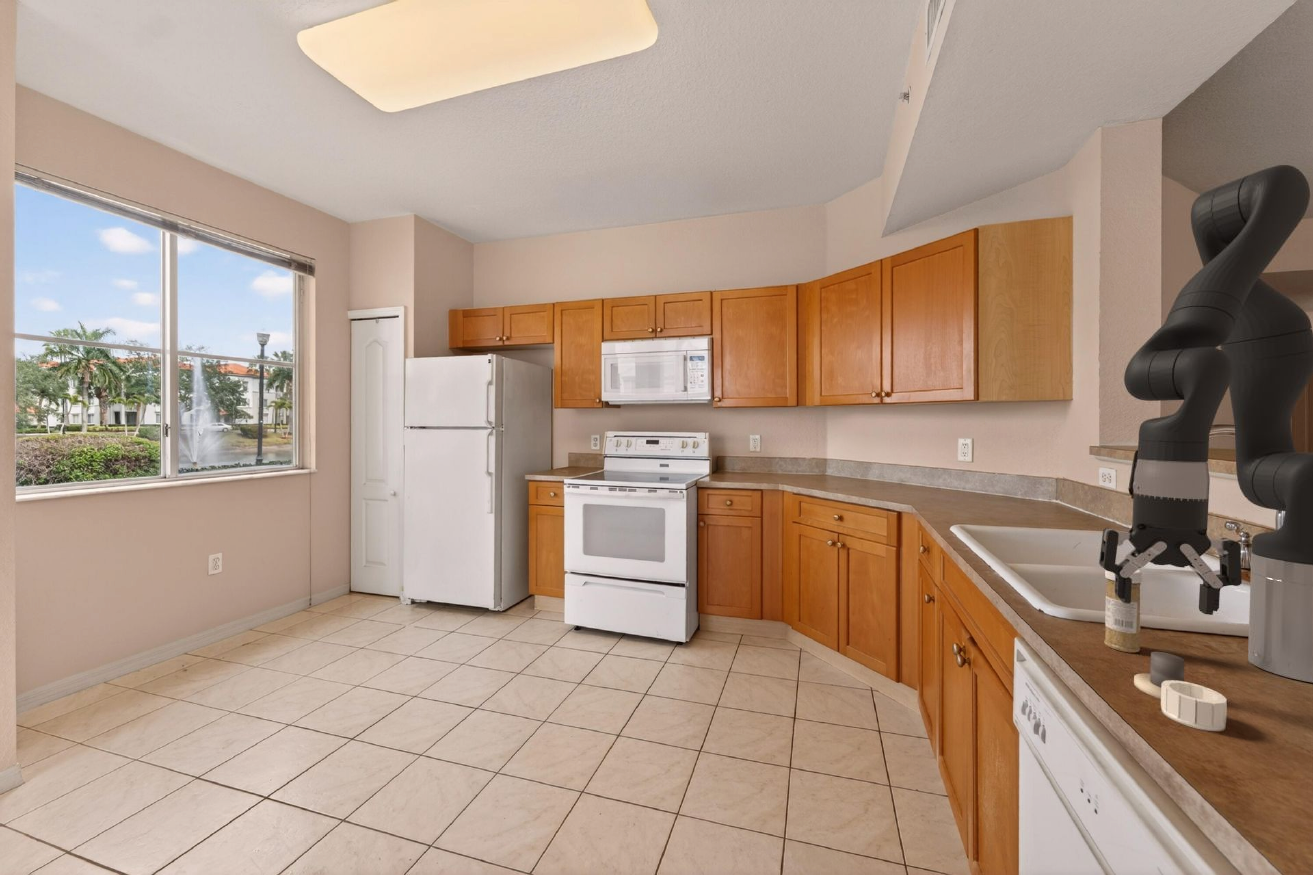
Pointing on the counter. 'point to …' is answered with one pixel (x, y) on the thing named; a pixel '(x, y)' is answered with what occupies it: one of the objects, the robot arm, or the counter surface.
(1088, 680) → the counter surface
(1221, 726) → the bowl
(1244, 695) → the counter surface
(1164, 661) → the lid
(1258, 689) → the counter surface
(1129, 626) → the sprinkles bottle
